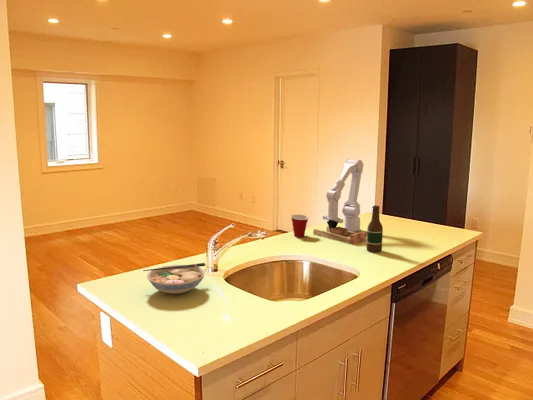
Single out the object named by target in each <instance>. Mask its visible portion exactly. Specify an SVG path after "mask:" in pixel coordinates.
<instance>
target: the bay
mask: <svg viewBox="0 0 533 400" xmlns="http://www.w3.org/2000/svg"><path fill="white" fill-rule="evenodd" d="M312 232H313V233H312V234H313V235H315V236H319V237H323V238H326V239H330V240H332V241H338V242H341V243H345V244H349V245H355V244H359V243H363V242H367V231H362V232H350V231H348V237H345V236H341V235H337V234H333V233H330V228H329V226H328V225H327V226H326V231H325V230H320V229H317V228H314V229H313V230H312Z"/></svg>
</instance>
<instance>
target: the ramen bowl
mask: <svg viewBox="0 0 533 400" xmlns="http://www.w3.org/2000/svg"><path fill="white" fill-rule="evenodd" d="M202 267H206V262H200V263H193V264H191V263H190V264H172V265H164V266H161V267H160V266H159V267H157V268H153V269H152V268H151V269H143V270H142V271H143V272H148V271H149V272H148V273H147V274H146V278H147V280H148V281H149V282H150V284H151V285H152V286H153V287H154V289H155V290H157V291H160V292H162V293H166V294H170V295H181V294H184V293H186V292H189V291H192V290H194V289H195V288H196V287H197V286H199V285H200V284H201V282H202V280H203V279H204V278H205V275H206V271H205V270H204V269H203V268H202Z"/></svg>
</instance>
